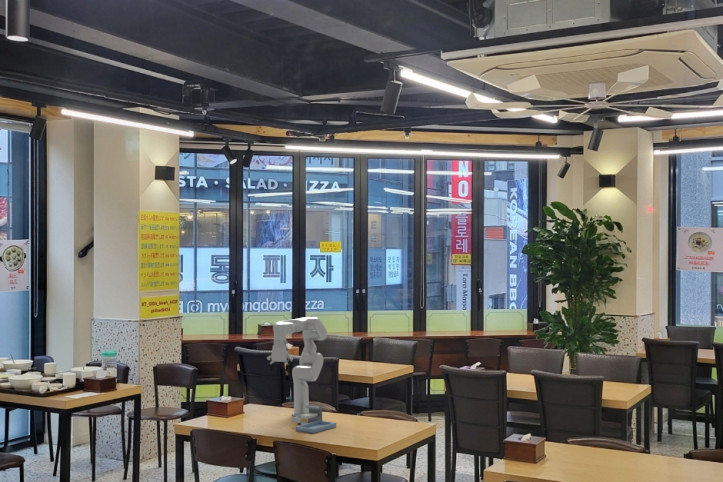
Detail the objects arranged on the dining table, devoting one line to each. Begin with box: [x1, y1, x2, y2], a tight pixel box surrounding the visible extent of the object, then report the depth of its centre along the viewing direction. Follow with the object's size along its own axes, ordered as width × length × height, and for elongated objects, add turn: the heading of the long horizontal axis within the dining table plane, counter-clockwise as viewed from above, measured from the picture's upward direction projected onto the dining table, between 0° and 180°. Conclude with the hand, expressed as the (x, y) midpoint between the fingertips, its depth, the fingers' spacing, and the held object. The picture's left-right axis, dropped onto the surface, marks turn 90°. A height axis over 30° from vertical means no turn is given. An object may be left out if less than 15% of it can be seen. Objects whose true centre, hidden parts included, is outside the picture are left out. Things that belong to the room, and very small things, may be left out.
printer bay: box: [297, 404, 323, 426], centre depth 493 cm, size 12×10×10 cm
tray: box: [295, 420, 337, 434], centre depth 477 cm, size 21×13×2 cm, turn 143°
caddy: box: [291, 413, 318, 425], centre depth 489 cm, size 16×6×6 cm, turn 143°
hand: (279, 370), depth 499 cm, fingers open, 9 cm apart
